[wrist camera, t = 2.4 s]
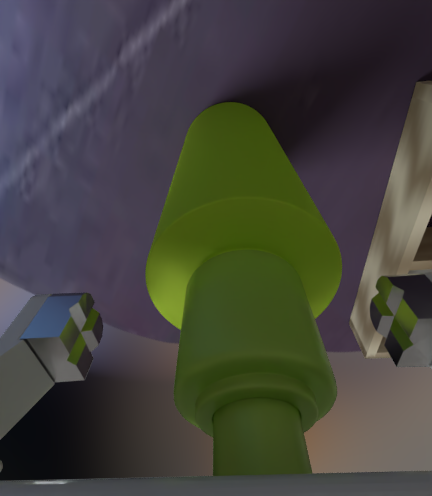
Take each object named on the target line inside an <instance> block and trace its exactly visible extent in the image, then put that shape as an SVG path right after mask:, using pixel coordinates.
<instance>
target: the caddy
mask: <svg viewBox="0 0 432 496" xmlns="http://www.w3.org/2000/svg"><path fill="white" fill-rule="evenodd" d="M431 215H432V81H422V82H416V85H415V89H414V92H413V96H412V100H411V103H410V107H409V110H408V114H407V118H406V121H405V125H404V128H403V132H402V135H401V139H400V143H399V146H398V150H397V153H396V157H395V160H394V164H393V168H392V171H391V175H390V178H389V182H388V186H387V189H386V193H385V196H384V200H383V203H382V207H381V211H380V214H379V218H378V221H377V225H376V229H375V232H374V236H373V239H372V243H371V246H370V250H369V254H368V257H367V261H366V264H365V268H364V271H363V275H362V279H361V282H360V286H359V289H358V293H357V297H356V300H355V304H354V307H353V311H352V314H351V318H350V322H349V324H350V327H351V329H352V331H353V333H354V335H355V337H356V340H357V342H358V344H359V346H360V348H361V351H362V353H363V355H364V357H365V359H367V358H391V356H390V355H389V353H388V351H387V349H386V348H385V346H384V344H385V341H386V338H385V337H384V336H382V335H381V334H379V333H378V332H377V331H376V330H375V328H374V326H373V324H372V321H371V318H370V303H371V299H372V298H373V297H374V296H375V295H377V294H378V293H379V292H378V290H377V289H376V287H375V286H376V283H377V280H378V279H379V278H380V277H381V276H387V275H402V274H408V272H409V271H410V270H428V269H432V227H427V225H428V222H429V220H430V217H431Z"/></svg>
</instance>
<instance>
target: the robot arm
mask: <svg viewBox="0 0 432 496" xmlns="http://www.w3.org/2000/svg"><path fill="white" fill-rule="evenodd" d="M375 287H376V289H377V290H378V292H379V293H378V294H377V295H375V296H374V297H373V298H372V299H371V303H370V318H371V321H372V324H373V326H374V328H375V330H376V331H377V332H378V333H379V334H381V335H382V336H384V337H385V338H386V341H385V344H384V346H385V348H386V349H387V351H388V353H389V355H390V356H391V358H392V360H393V362H394V363H395V365H396V367H431V369H432V272H428V273H419V274H402V275H387V276H381V277H380V278H379V279H378V280H377V283H376V286H375ZM94 303H95V302H94V300H93V298H92V296H91V294H89V293H61V294H41V295H35V296H33V297H31V298H30V300H29V301H28V302H27V304H26V305H25V306H24V308H23V309H22V310H21V312H20V313H19V314H18V315H17V317H16V318H15V320H14V321H13V322H12V324H11V325H10V326H9V327H8V329H7V330H6V331H5V333H4V334H3V335H2V337H1V338H0V439H1V438H2V437H3V436H4V435H5V434H6V433H7V432H8V431H9V430H10V429H11V428H12V427H13V426H14V425H15V424H16V423H17V422H18V421H19V420H20V419H21V418H22V417H23V416H24V415H25V414H26V412H28V411H29V410H30V409H31V407H33V405H35V403H36V402H37V401H38V400H39V399H40V398H41V397H42V396H43V395H44V394H45V393H46V392H47V391H48V390H49V389H50V388H51V387H52V386H53V385H54V382H64V381H78V380H85V378H86V376H87V373H88V371H89V368H90V366H91V363H92V360H93V356H92V354H91V351H92V350H93V349H95V348H96V347H97V346H98V345H99V343H100V340H101V338H102V331H103V323H102V318H101V316H100V313H98V312H97V311H96V310H94V309H93V308H92V307H93V305H94ZM2 468H3V466H2V462H1V460H0V472H1V470H2ZM0 496H432V471H400V472H361V473H360V472H357V473H317V474H274V475H233V476H192V477H152V478H110V479H70V480H31V481H30V480H29V481H0Z"/></svg>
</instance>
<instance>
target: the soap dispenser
mask: <svg viewBox="0 0 432 496" xmlns="http://www.w3.org/2000/svg"><path fill="white" fill-rule="evenodd" d="M341 274H342V260H341V254H340V250H339V247H338V245H337V243H336V240H335V239H334V237H333V235H332V233H331V232H330V230H329V228H328V226H327V225H326V223H325V221H324V220H323V218H322V216H321V214H320V213H319V211H318V209H317V208H316V206H315V204H314V202H313V201H312V199H311V197H310V195H309V194H308V192H307V190H306V189H305V187H304V185H303V183H302V182H301V180H300V178H299V177H298V175H297V173H296V171H295V170H294V168H293V166H292V165H291V163H290V161H289V159H288V158H287V156H286V154H285V153H284V151H283V149H282V147H281V146H280V144H279V142H278V141H277V139H276V137H275V135H274V134H273V132H272V130H271V129H270V127H269V125H268V123H267V122H266V120H265V119H264V118H263V117H262V115H261V114H259V113H258V112H257V111H256V110H254V109H253V108H251V107H249V106H247V105H244V104H241V103H236V102H225V103H219V104H216V105H213V106H211V107H209V108H207V109H206V110H204V111H203V112H202V113H200V114H199V115H198V116H197V117H196V119H195V120H194V121H193V123H192V124H191V126H190V128H189V130H188V132H187V135H186V139H185V142H184V145H183V148H182V151H181V154H180V157H179V161H178V164H177V167H176V170H175V173H174V176H173V180H172V183H171V186H170V189H169V192H168V195H167V199H166V202H165V205H164V208H163V211H162V214H161V218H160V221H159V224H158V227H157V230H156V233H155V236H154V240H153V243H152V246H151V249H150V252H149V255H148V259H147V264H146V284H147V289H148V292H149V295H150V297H151V299H152V301H153V303H154V305H155V306H156V308H157V309H158V310H159V312H160V313H161V314H162V315H163V316H164V317H165V318H166V319H167V320H168V321H169V322H170V323H172V324H173V325H174V326H176V327H177V328H179V329H180V330H181V334H180V342H179V351H178V358H177V366H176V375H175V384H174V402H175V405H176V407H177V409H178V411H179V412H180V414H181V415H182V416H183V417H184V418H185V419H186V420H187V421H188V422H190V423H191V424H193V425H195V426H197V427H198V428H200V429H201V430H202V431H204V432H205V433H206V434H208V435H209V436H211V437H213V476H233V475H274V474H312V469H311V465H310V460H309V455H308V451H307V446H306V442H305V437H304V432H306V431H307V430H309V429H310V428H311V427H312V426H313V425H314V423H315V422H316V421H318V420H320V419H321V418H322V417H323V416H325V415H326V414H327V413H328V412H329V411H330V409H331V408H332V406H333V404H334V402H335V400H336V396H337V386H336V381H335V377H334V374H333V371H332V368H331V365H330V362H329V359H328V356H327V353H326V350H325V348H324V345H323V342H322V339H321V336H320V333H319V330H318V327H317V324H316V321H315V318H317V317H318V316H319V315H320V314H321V313H322V312H323V311H324V310H325V309H326V307H327V306H328V305H329V303H330V302H331V301H332V299H333V297H334V295H335V294H336V291H337V289H338V287H339V283H340V280H341Z"/></svg>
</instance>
